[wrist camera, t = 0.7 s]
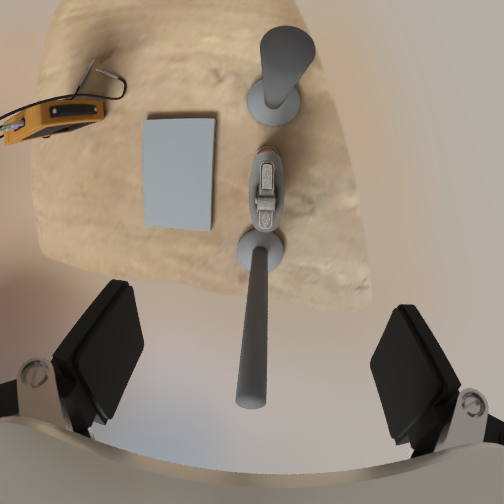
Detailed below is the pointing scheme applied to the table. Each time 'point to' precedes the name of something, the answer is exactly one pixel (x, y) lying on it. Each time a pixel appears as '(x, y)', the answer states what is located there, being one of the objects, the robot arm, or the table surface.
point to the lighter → (266, 189)
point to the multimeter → (54, 115)
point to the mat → (178, 172)
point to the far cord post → (256, 315)
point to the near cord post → (280, 75)
